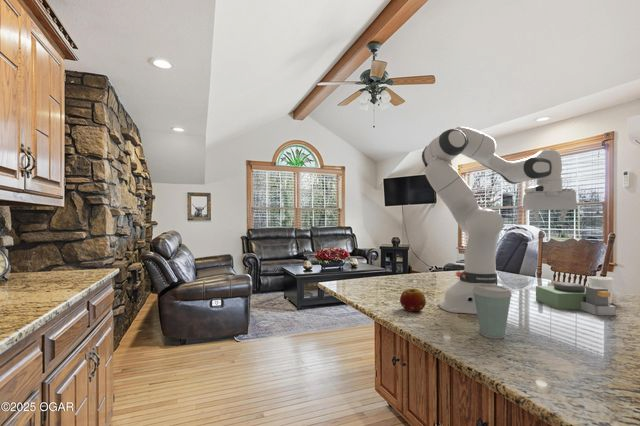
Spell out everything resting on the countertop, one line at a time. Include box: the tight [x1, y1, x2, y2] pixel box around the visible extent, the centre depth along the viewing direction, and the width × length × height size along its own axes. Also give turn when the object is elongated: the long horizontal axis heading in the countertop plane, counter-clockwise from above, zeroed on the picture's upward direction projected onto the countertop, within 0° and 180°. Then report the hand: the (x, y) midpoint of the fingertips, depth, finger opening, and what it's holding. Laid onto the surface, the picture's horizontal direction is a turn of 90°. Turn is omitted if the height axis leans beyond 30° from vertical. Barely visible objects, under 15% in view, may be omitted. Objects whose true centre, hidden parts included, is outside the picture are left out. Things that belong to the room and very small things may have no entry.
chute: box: [585, 286, 610, 306], centre depth 120 cm, size 6×4×9 cm
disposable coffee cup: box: [473, 283, 513, 340], centre depth 97 cm, size 11×11×15 cm
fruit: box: [399, 288, 427, 313], centre depth 125 cm, size 10×9×8 cm
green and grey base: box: [535, 281, 617, 316], centre depth 128 cm, size 18×21×8 cm
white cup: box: [587, 275, 614, 305], centre depth 135 cm, size 8×8×10 cm
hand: (549, 220), depth 137 cm, fingers open, 8 cm apart
